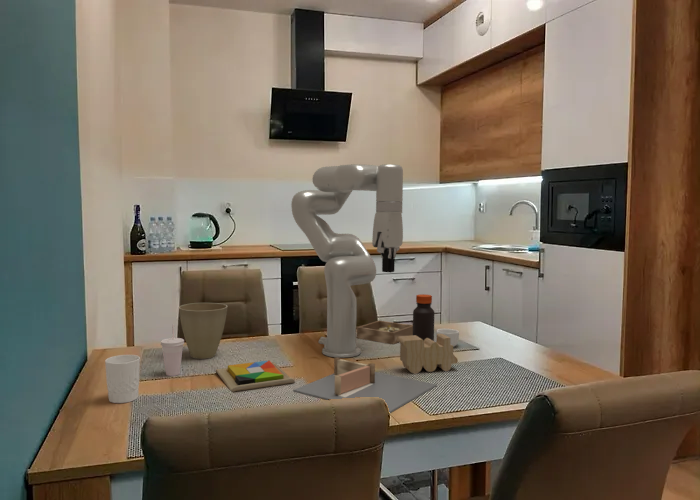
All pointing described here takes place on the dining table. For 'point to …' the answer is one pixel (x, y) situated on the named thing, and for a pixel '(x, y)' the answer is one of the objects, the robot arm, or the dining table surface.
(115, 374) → the white cup
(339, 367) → the fixed fence panel
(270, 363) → the wooden puzzle
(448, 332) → the teacup
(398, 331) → the tray
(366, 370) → the hinged fence panel
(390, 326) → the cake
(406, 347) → the toy train
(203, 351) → the plant pot
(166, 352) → the smoothie
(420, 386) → the card
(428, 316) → the bottle
